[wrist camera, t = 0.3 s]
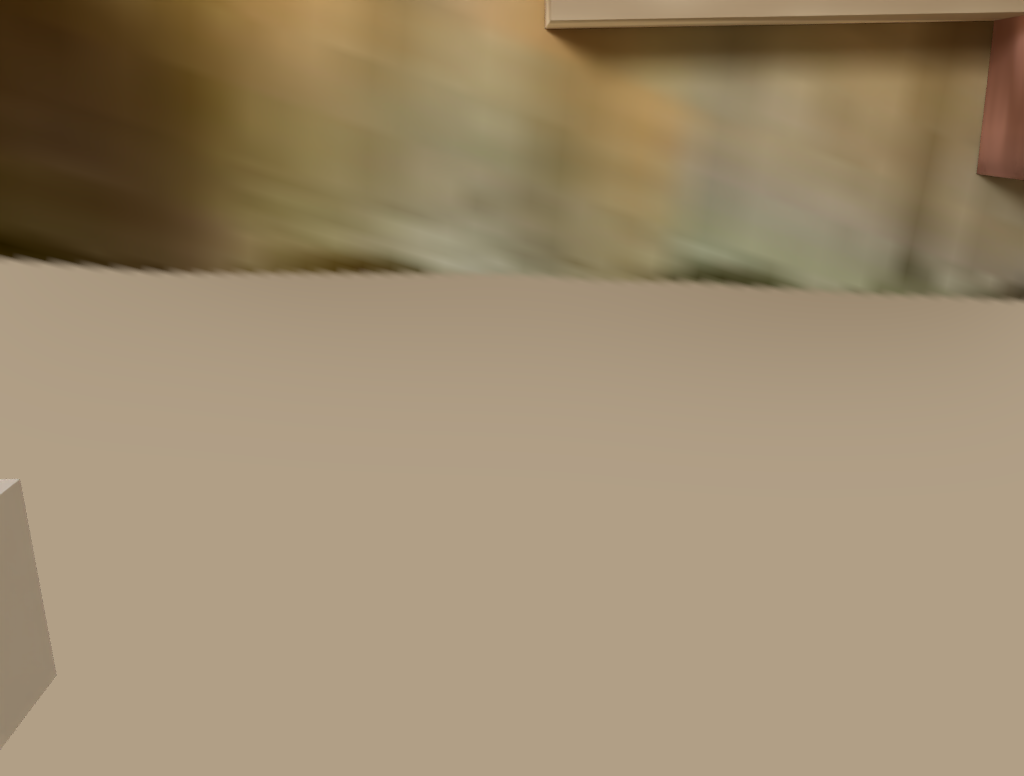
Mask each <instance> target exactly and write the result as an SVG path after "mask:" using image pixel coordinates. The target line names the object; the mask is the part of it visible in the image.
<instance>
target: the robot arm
mask: <svg viewBox="0 0 1024 776" xmlns="http://www.w3.org/2000/svg"><path fill="white" fill-rule="evenodd" d="M55 677H56V670H55V664H54V659H53V654H52V648H51V643H50V638H49V632H48V627H47V621H46V617H45V611H44V605H43V600H42V595H41V589H40V584H39V578H38V573H37V568H36V562H35V557H34V552H33V546H32V541H31V536H30V530H29V525H28V519H27V514H26V509H25V503H24V498H23V493H22V487H21V483H20V479H0V749H1V748H2V747H3V745H4V744H5V743H6V741H7V740H8V739H9V737H10V736H11V735H12V733H13V732H14V731H15V729H16V728H17V727H18V725H19V724H20V723H21V722H22V720H23V719H24V718H25V716H26V715H27V713H28V712H29V711H30V710H31V708H32V707H33V706H34V704H35V703H36V702H37V700H38V699H39V698H40V696H41V695H42V694H43V692H44V691H45V690H46V688H47V687H48V686H49V684H50V683H51V682H52V680H53V679H54V678H55Z"/></svg>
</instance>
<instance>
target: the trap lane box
mask: <svg viewBox="0 0 1024 776" xmlns="http://www.w3.org/2000/svg"><path fill="white" fill-rule="evenodd" d="M945 21H994V28H993V36H992V45H991V54H990V62H989V71H988V80H987V88H986V97H985V106H984V115H983V123H982V132H981V141H980V149H979V158H978V167H977V174H982V175H989V176H996V177H1004V178H1011V179H1018V180H1024V0H545V29H565V28H619V27H674V26H728V25H782V24H836V23H891V22H945Z"/></svg>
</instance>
